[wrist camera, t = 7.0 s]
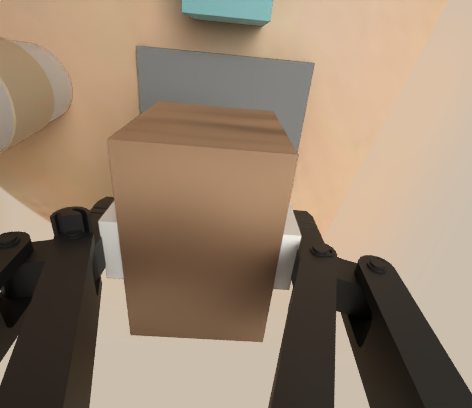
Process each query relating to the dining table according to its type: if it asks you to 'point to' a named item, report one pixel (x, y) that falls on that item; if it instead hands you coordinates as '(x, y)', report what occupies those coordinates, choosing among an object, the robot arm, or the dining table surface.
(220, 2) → the teal brick
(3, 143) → the coffee cup
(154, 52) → the mat
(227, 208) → the walnut brick
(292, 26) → the dining table surface
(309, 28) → the dining table surface
